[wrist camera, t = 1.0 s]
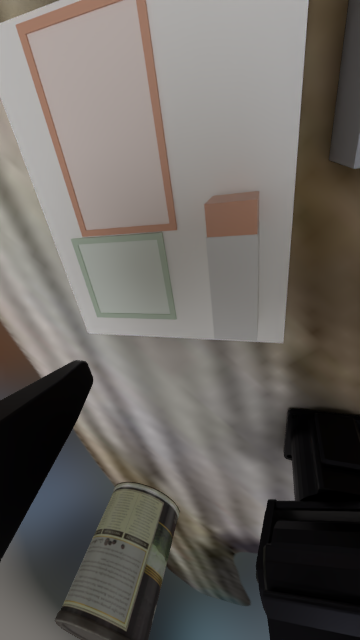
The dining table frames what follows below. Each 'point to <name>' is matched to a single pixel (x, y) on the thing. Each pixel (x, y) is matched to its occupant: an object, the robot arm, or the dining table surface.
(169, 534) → the coffee can
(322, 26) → the dining table surface
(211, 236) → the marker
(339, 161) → the grey open box
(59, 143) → the sheet
